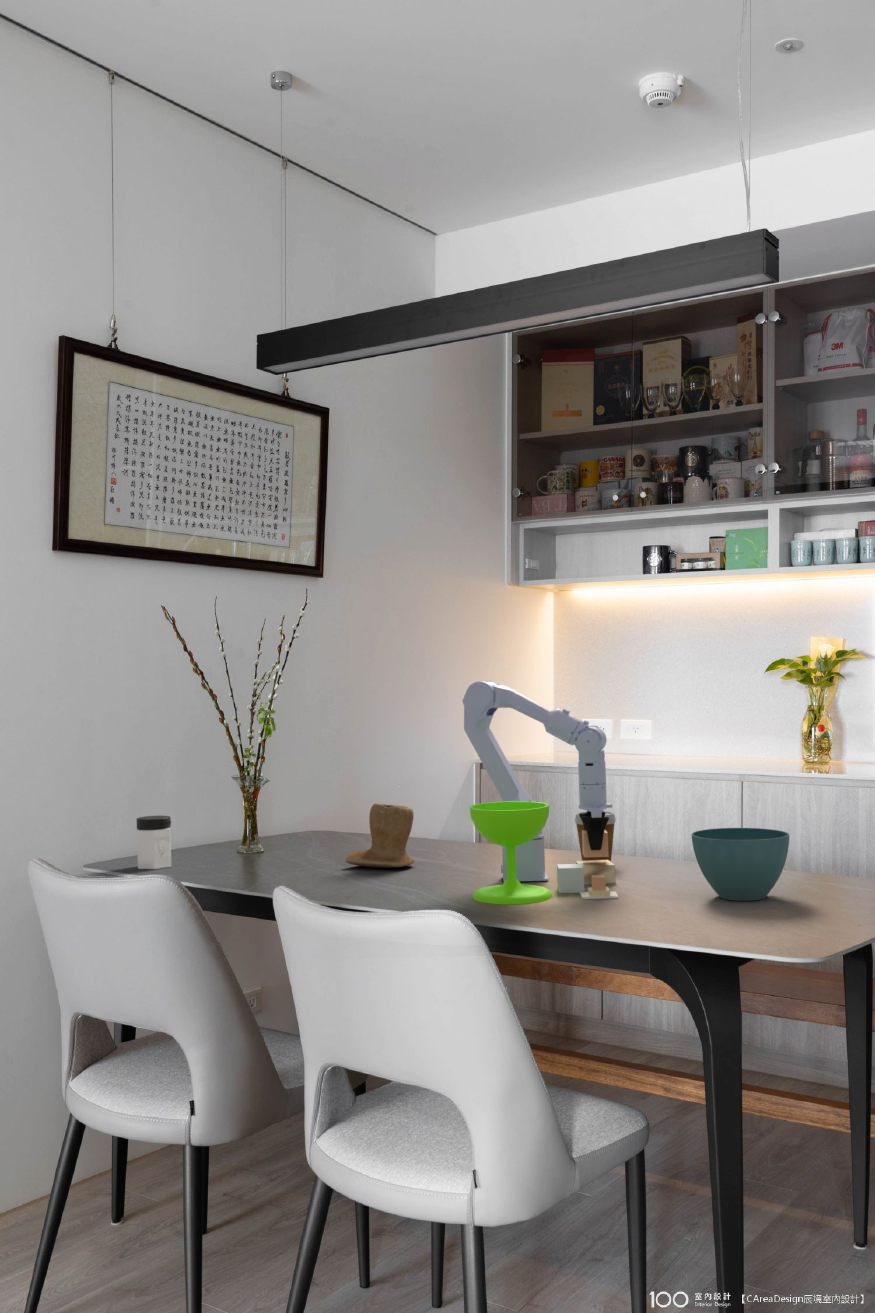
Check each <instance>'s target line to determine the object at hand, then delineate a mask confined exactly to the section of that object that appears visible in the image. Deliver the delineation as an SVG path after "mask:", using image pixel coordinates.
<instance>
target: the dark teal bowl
mask: <svg viewBox="0 0 875 1313" xmlns="http://www.w3.org/2000/svg"><path fill="white" fill-rule="evenodd" d="M691 843H692V847H693V852H694V856H695V858H696V861H697V864H698V867H699V869H700V870H701V872H702V875H703V877H704V878H705V880H706V881H707V883H708V884H709V885H710V887H711V888H712V890H714V892H715V893H716V895H718V897H719V898H720V899H722V900H723V899H724V900H728V901H733V902H734V901H737V902H750V901H751V902H752V901H759V900H763V899H765V898H766V897H767V896H768V894H769V893H770V892H771V891H772V890H773V889H774V886H775V885H776V884H777V882H778V881H779V879H780V877H781V875H782V873H783V870H784V867H785V865H786V862H787V857H788V853H789V847H790V846H789V845H790V833H789V832H787V831H783V830H779V829H770V828H759V827H758V828H756V827H720V828H719V827H718V828H708V829H701V830H696V831H693V832H692V833H691Z"/></svg>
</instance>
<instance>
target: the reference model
mask: <svg viewBox="0 0 875 1313" xmlns="http://www.w3.org/2000/svg"><path fill="white" fill-rule="evenodd" d="M591 879H592V884H591V887H589V886H588V887H587V891H584V892H580V893H579V894H580V897H581V899H582V900H595V899H596V900H599V899H606V900H607V899H619V895H618V894H617V893H618V892H616V891H613V890H612V891H611V890H610V888H609V887H608V886H606V884H607V883H606V880H605V876H604V875H591Z"/></svg>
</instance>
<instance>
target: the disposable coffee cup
mask: <svg viewBox="0 0 875 1313" xmlns="http://www.w3.org/2000/svg"><path fill="white" fill-rule="evenodd" d="M603 811H604V810H603ZM586 812H587V811H579V812H576V813H575V818H573V819H574V824H576V832H577V837H578V843H579V851H580V855H581V856H580V857H581V861H590V860H609V861H610V862H612V855H613V854H612V853H613V842H614V831H615V823H616V821H617V818H616V816H615V813H614V812H613V811H612V812H611V811H606V810H605V811H604V812H605V816H604V817H609V820H608V822H607V824H606V827H605V830H606V831H607V833H608V855H609V857H584V855H583V852H582V830H585V829H584V825H583V822H582V820H581V818H580V816H579V813H586Z"/></svg>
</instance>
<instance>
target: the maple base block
mask: <svg viewBox="0 0 875 1313" xmlns="http://www.w3.org/2000/svg"><path fill="white" fill-rule="evenodd" d="M575 864H582V866H583V870H584V885H592V879H591V875H604V876H605V880H606V884H616V880H617V879H616V865H615V864H614V863H613V862H612V861H611V862H610V861H609V860H590V861H582V860H575Z"/></svg>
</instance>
